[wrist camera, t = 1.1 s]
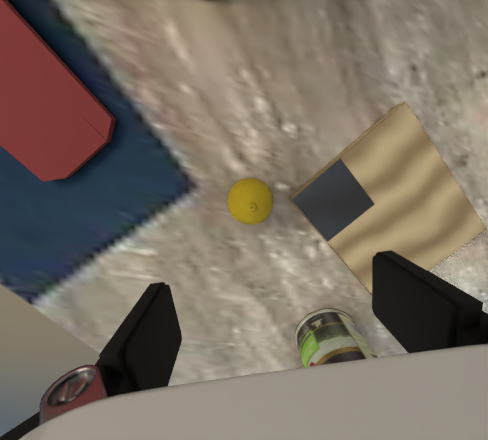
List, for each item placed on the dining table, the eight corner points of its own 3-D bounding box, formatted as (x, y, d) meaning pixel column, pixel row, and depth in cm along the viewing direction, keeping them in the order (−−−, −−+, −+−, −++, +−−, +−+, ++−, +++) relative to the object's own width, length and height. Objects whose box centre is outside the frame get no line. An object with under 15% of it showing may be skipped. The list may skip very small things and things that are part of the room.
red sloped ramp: (133, 128, 32) (-58, -85, 23) (120, 128, 28) (-125, -137, 18) (74, 181, 34) (-127, 2, 25) (52, 189, 29) (-204, -27, 20)
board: (288, 198, 32) (291, 200, 30) (397, 104, 29) (407, 100, 27) (375, 299, 36) (381, 305, 35) (476, 226, 34) (488, 229, 32)
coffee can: (286, 353, 39) (313, 459, 25) (306, 302, 36) (348, 388, 22) (342, 365, 40) (397, 473, 26) (365, 315, 37) (440, 406, 23)
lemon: (271, 178, 31) (282, 185, 23) (264, 217, 32) (273, 236, 25) (231, 173, 31) (229, 177, 23) (226, 212, 32) (222, 229, 24)
